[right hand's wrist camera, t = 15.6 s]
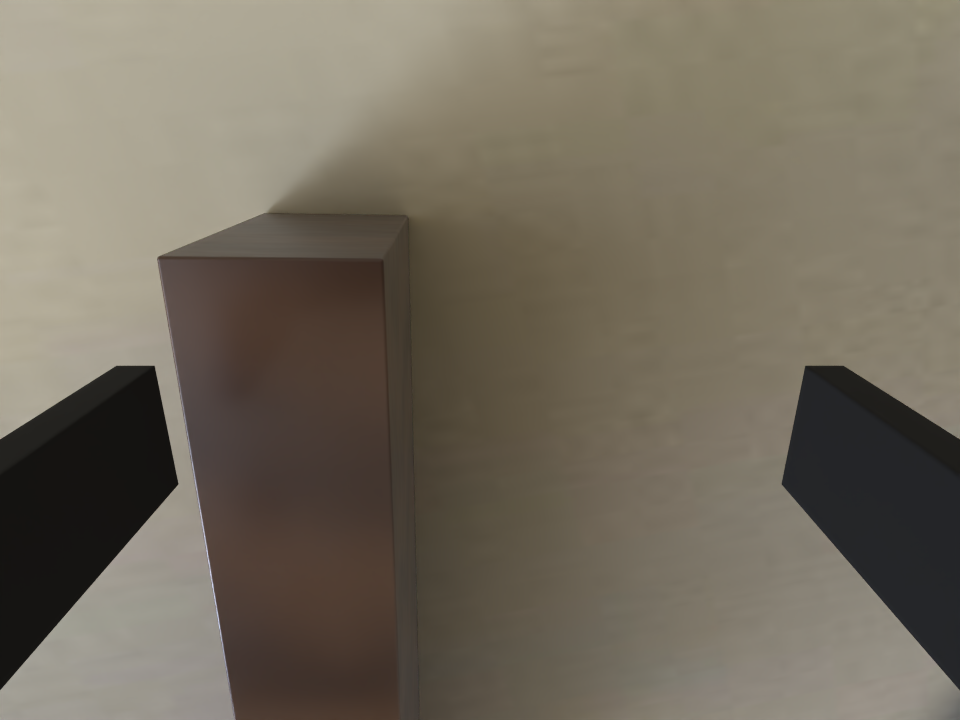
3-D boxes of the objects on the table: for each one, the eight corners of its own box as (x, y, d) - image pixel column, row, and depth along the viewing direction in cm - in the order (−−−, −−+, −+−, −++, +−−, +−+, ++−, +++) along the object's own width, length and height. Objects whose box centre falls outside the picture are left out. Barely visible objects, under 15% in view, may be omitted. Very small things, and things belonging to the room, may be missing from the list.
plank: (262, 213, 21) (155, 256, 13) (408, 215, 21) (383, 258, 14) (327, 832, 32) (288, 1045, 24) (422, 828, 32) (412, 1039, 25)
